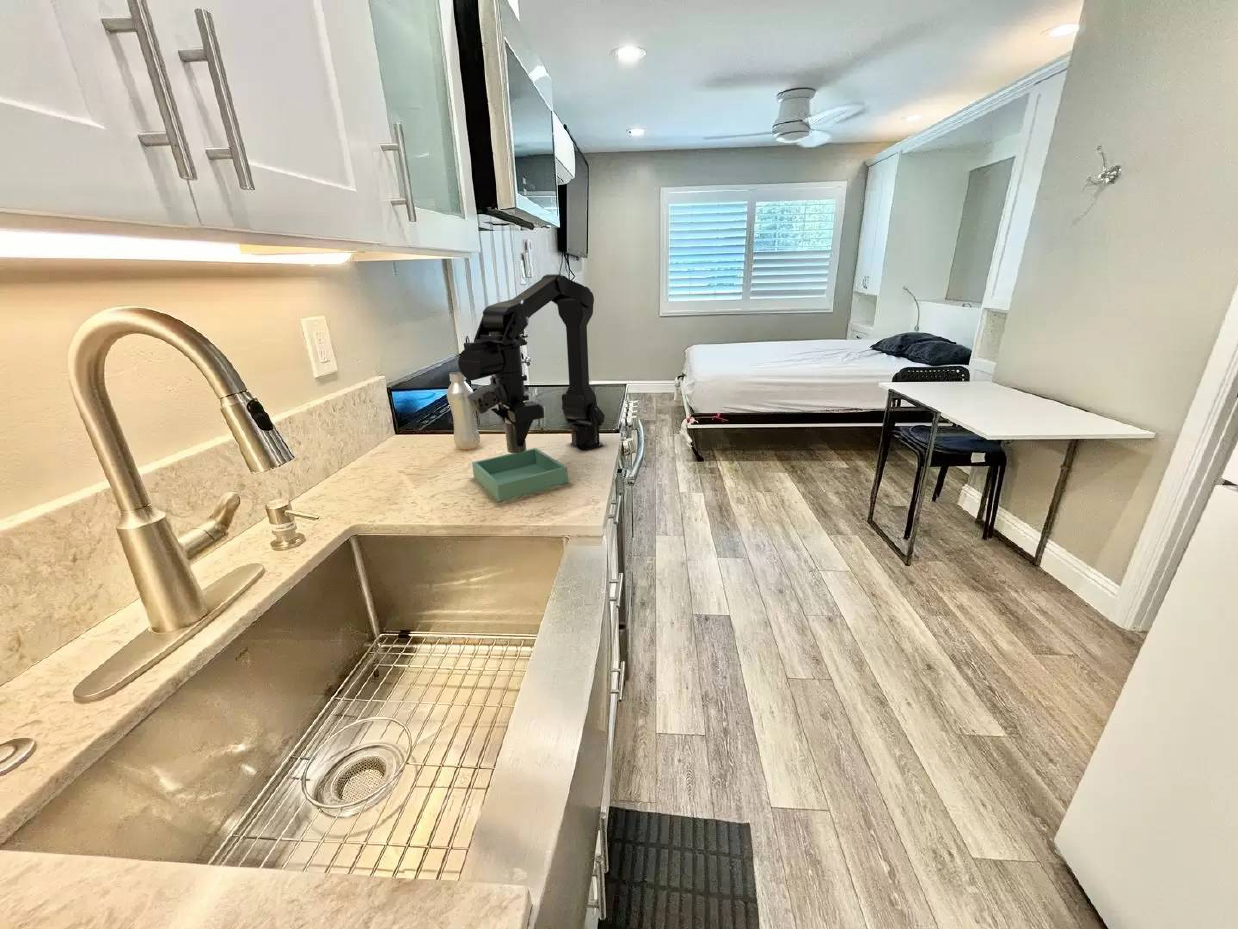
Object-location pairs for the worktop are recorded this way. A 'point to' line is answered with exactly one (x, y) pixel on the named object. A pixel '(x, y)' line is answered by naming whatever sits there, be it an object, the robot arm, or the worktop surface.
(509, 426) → the salt shaker
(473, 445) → the silver bottle
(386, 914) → the worktop surface
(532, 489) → the bin
